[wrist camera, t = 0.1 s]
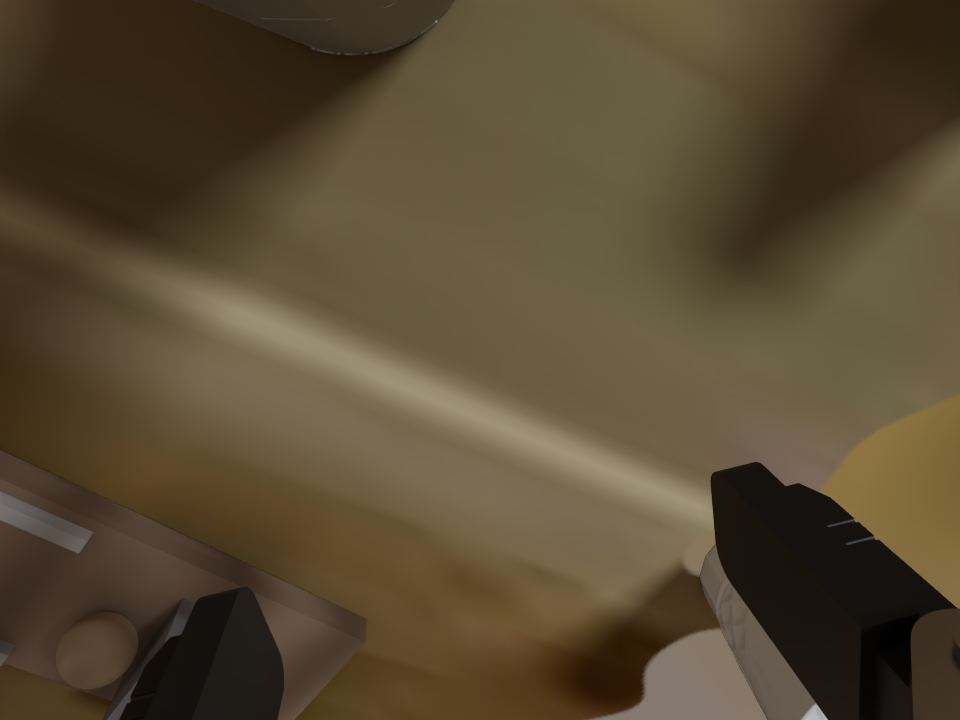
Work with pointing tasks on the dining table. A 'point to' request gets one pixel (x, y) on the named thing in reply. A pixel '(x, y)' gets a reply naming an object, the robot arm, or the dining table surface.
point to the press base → (134, 594)
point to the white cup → (755, 650)
